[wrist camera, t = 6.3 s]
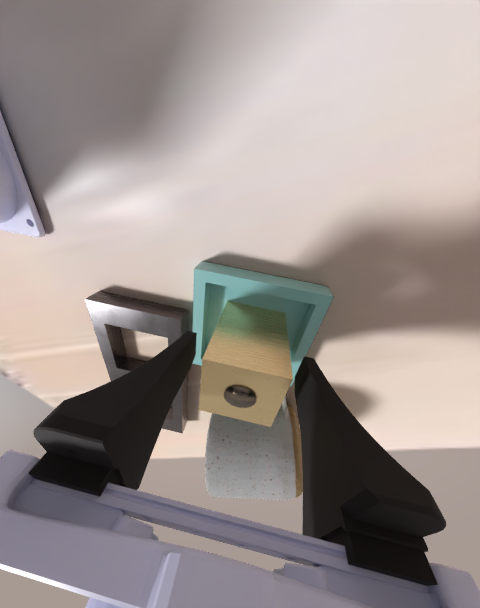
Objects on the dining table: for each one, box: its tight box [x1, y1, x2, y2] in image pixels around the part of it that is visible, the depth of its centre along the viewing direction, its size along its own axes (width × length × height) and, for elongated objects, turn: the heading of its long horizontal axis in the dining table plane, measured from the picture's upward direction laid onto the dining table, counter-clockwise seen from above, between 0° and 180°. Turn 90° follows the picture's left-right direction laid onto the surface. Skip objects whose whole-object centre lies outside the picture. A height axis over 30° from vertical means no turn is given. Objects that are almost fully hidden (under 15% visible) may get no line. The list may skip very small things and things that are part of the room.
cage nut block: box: [199, 301, 293, 427], centre depth 13 cm, size 4×4×6 cm
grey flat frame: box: [85, 291, 188, 433], centre depth 20 cm, size 18×8×2 cm, turn 171°
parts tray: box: [192, 261, 333, 386], centre depth 15 cm, size 9×9×2 cm
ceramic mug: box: [205, 396, 303, 500], centre depth 17 cm, size 11×8×8 cm
